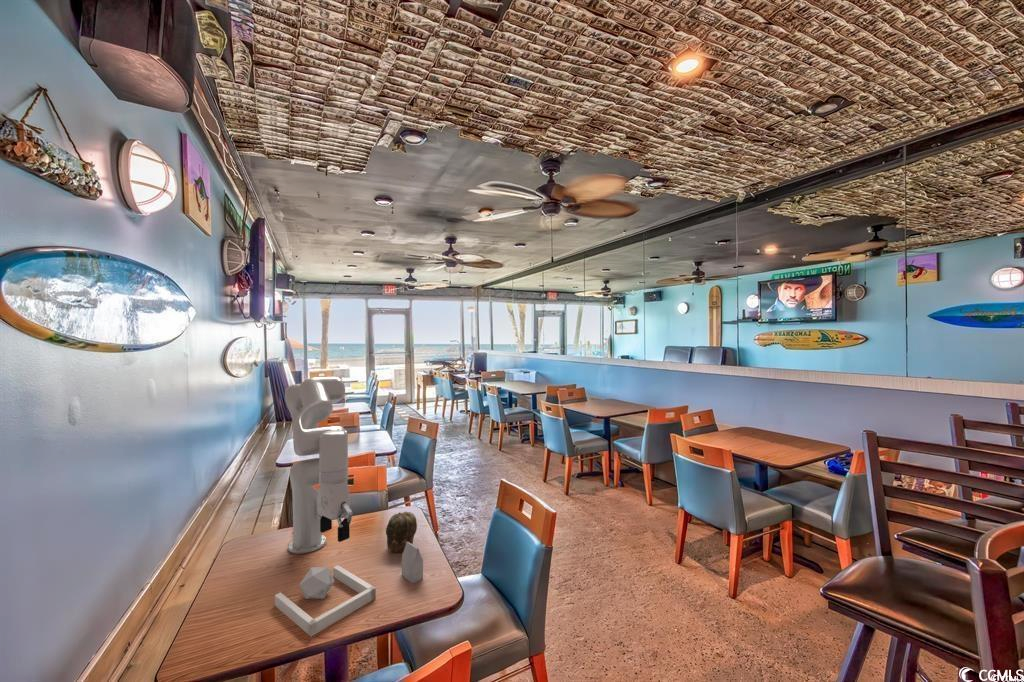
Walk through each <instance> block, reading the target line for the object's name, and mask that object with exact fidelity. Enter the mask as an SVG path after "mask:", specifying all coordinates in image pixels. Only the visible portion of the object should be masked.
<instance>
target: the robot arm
mask: <svg viewBox="0 0 1024 682" xmlns="http://www.w3.org/2000/svg"><path fill="white" fill-rule="evenodd" d="M345 395H346V386H345V383H344V381H343V379H342V378H340V377H338V376H325V377H312V378H308V379H305V380H303V381H302V382H301V383H296V384H292V385H289V386H287V387H286V389H285V392H284V401H285V403H286V407H287V409H288V411H289V414H290V417H291V421H292V441H293V451H294V453H295V455H296V456H298V457H306V456H313V455H318V456H319V457H313V458H308V459H302V460H299V461H296V462H294V463H293V464H292V465H291V467H290V468H289V478H290V483H291V484H290V485H291V490H292V492H291V493H292V532H291V535H292V540H291V542H290V543H289V544H288V546H287V548H288V549H287V550H288V552H290V553H291V554H297V555H298V554H299V555H301V554H308V553H312V552H315V551H317V550H319V549H321V548H323V547H324V546H325V545H326V543H327V537H326V536H325V535H323V534H324V533H325V532H327V531H330V530H332V529H333V526H332V525H333V523H332V521H337V523H338V526H337V542H339V543H341V542H343V541H346V540H348V539H350V537H351V536H350V531H351V530H350V525H351V522H352V517H353V515H354V514H353V511H352V509H351V508H350V491H349V490H350V489H349V483H348V480H349V452H348V451H349V448H348V447H349V442H348V440H349V436H348V432H347V430H346V429H345V427H343V426H341V425H335V426H334V425H333V426H324V427H319V424H320V423H321V422H323V421H325V420H326V419H327V418H328V417H330V416H331V415H332V413H333V411H334V408H333V407H334V406H333V404H336V403H338V402H340V401H342V400H343V399H344V397H345ZM316 485H318V489H317V488H316V487H315V486H316ZM342 518H343V520H342Z"/></svg>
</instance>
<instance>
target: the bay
mask: <svg viewBox="0 0 1024 682" xmlns="http://www.w3.org/2000/svg"><path fill="white" fill-rule="evenodd" d="M332 574H333V575H332V576H333V578H335V579H336V580H337V581H340V582H341V583H343V584H344V585H346V586H347V587H349V588H351V589H352V590H354V591H355V592H357V593H358V594H356V595H354V596H353V597H351V598H349V599H347V600H345V601H344V602H342V603H341V604H338V605H337V606H335V607H333V608H331V609H329V610H328V611H326V612H324V613H322V614H321V615H318V617H315V618H313V617H311V615H309V614H308V613H306V612H305V610H303V609H302V608H301V607H299V606H298V605H297V604H296V603H294V602H293V601H291V600H290V599H289V598H288V597H287V596H286V595H284V594H283V593H282V592H279V593H276V594H275V595H274V606H275V607H276V608H277V609H278V610H280V612H282V613H283V614H284V615H285V616H286V617H287V618H289V619H290V620H291V621H292V622H293V623H294V624H295V625H297V626H298V627H299V628H300V629H302V630H303V631H304V632H305V633H306V634H307V635H309V636H310V637H313V636H314V635H316V634H318V633H319V632H321V631H323V630H325V629H327V628H328V627H330V626H332V625H333V624H335V623H336V622H338V621H340V620H342V619H343V618H345V617H346V616H348V615H350V614H351V613H354V612H356V610H358V609H359V608H362V607H363V606H366V605H367V604H368V603H370V602H372V601H373V600H376V598H377V596H376V595H377V594H376V592H377V591H376V589H377V588H376V587H375V586H374V585H371V584H370V583H368V582H367V581H365V580H363V579H362V578H360V577H359V576H356V575H355V574H353V573H351V571H348V570H347V569H344V568H343V567H341V566H340V565H339V564H337V565H335V566H333V567H332Z"/></svg>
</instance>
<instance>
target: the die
mask: <svg viewBox="0 0 1024 682" xmlns="http://www.w3.org/2000/svg"><path fill="white" fill-rule="evenodd" d="M332 574H333V573H332V572H331V570H330V568H329V566H324V567H323V566H318V567H317V566H316V567H313V566H312V567H310V568H309V570H308V572H307V573H306V574H305V576H304V577H303V579H302V580H301V582H300V583H299V587H300V589H301V591H302V593H303V595H304V598H305V600H324V599H326V597H327V594H328V593H329V592H330V590H331V587H332V586H333V584H335V581H336V580H335V579H334V578H335V577H333V575H332Z"/></svg>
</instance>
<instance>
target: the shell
mask: <svg viewBox="0 0 1024 682" xmlns="http://www.w3.org/2000/svg"><path fill="white" fill-rule="evenodd" d="M417 529H418V522H417V518H416V516H415V514H414V513H413V512H411V511H409V512H408V511H404V512H398V513H396V514H393V515H392V516H391V517H390V519H389V520H388V524H387V525H386V528H385V535H386V545H387V549H388V551H389V552H390V553H393V554H395V553H403V551H404V549H405V546H406V542H407V541H408V542H409V543H411V544H412V545H414V544H413V543H414V537H415V535H416V532H417Z"/></svg>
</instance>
